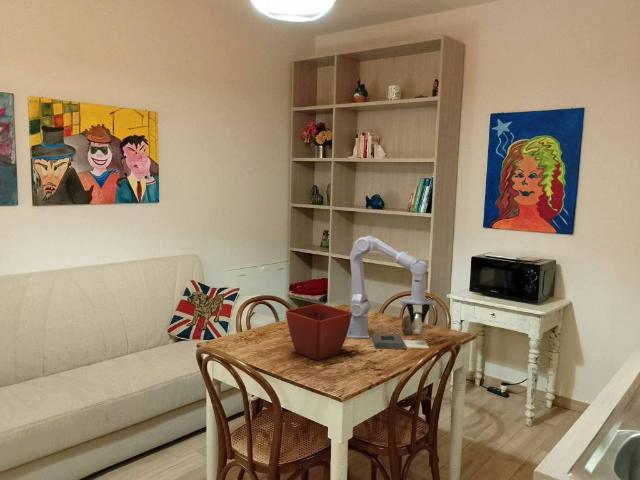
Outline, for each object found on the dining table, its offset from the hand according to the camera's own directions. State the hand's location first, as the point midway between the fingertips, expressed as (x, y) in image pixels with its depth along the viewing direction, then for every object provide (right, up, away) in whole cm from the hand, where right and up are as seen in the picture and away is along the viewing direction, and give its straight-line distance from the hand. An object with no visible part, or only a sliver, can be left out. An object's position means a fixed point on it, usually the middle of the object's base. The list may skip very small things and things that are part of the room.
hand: (417, 322), depth 215 cm
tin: (+1, -8, +19) cm, 21 cm away
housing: (-12, -10, +1) cm, 15 cm away
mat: (0, -10, +1) cm, 10 cm away
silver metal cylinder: (0, -4, 0) cm, 4 cm away
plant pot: (-41, -11, -12) cm, 44 cm away
